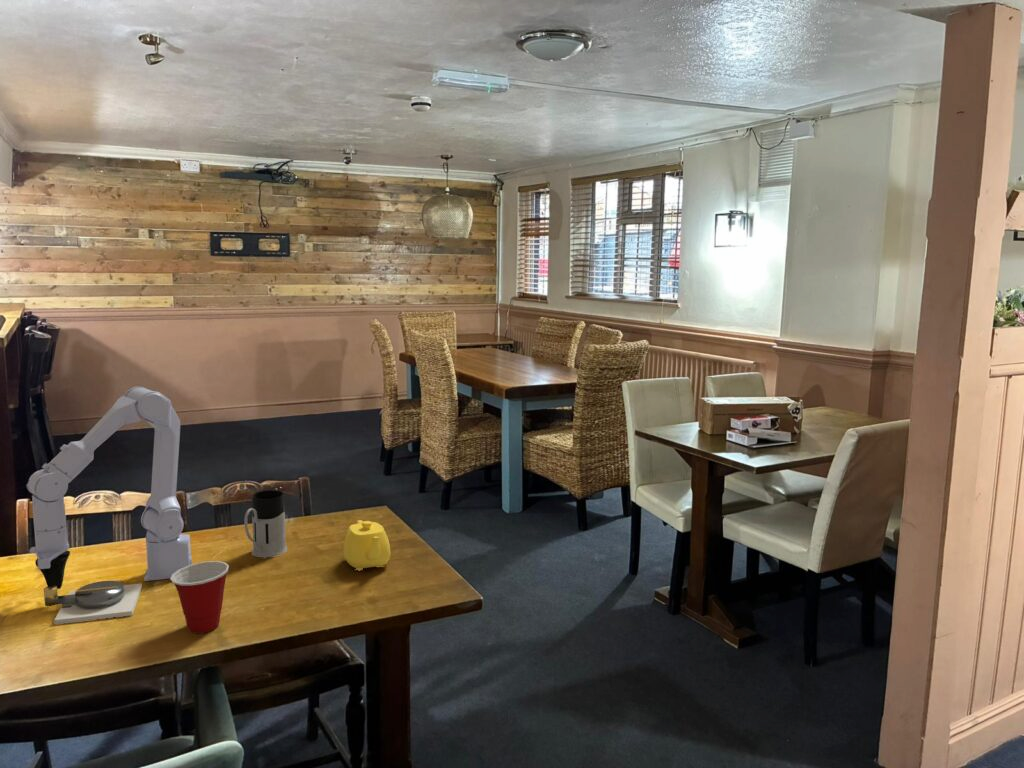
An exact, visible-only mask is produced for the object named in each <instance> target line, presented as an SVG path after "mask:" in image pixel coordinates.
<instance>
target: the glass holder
mask: <svg viewBox="0 0 1024 768" xmlns="http://www.w3.org/2000/svg"><path fill="white" fill-rule="evenodd" d="M284 494H285V493H284V492H282V491H281V490H274V489H273V490H272V489H271V490H270V489H269V490H268V489H267V490H261V491H257V492H255V493H253V494H252V495H251V496H252V497H251V499H252V501H251V502H252V507H251V508H248V509H247V510H246V512H245V514H244V521H243V523H244V530H245V533H246V536H247V539H248V540H249V541H250V542H252V543H253V544H252V547H253V548H252V550H251V555H252V554H253V555H254V556H257V557H264V558H263V559H267V558H266V557H274V556H277V555H280V554H282V553H284V552H286V551H287V549H288V547H287V543H286V542H287V541H286V535H287V534H286V507H285V498H284V497H285V496H284ZM250 512H252V515H251V517H252V519H251V520H252V536H251V534H250V531H249V527H248V516H249V514H250ZM287 552H288V551H287ZM253 555H252V556H253ZM254 556H253V557H254ZM257 557H256V558H257ZM274 558H275V557H274Z"/></svg>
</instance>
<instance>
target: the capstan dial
mask: <svg viewBox="0 0 1024 768" xmlns="http://www.w3.org/2000/svg"><path fill="white" fill-rule="evenodd" d="M124 585H125V584H124V583H123V582H121V581H118V580H102V581H101V580H100V581H95V582H91V583H88V584H85V585H83V586H80V588H78V589H76V590H77V591H75V590H74V591H75V594H73V595H69V594H64V595H58V594H59V592H58V589H57V586H55V585H52V586H45V587H44V588H43V598H44V606H45V607H54V606H57V605H63V604H68V603H76V605H77V606H79V607H82V608H98V607H104V606H108V605H111V604H113V603H116V602H118V601H119V600H121V599H122V598H123V597H124Z"/></svg>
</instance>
